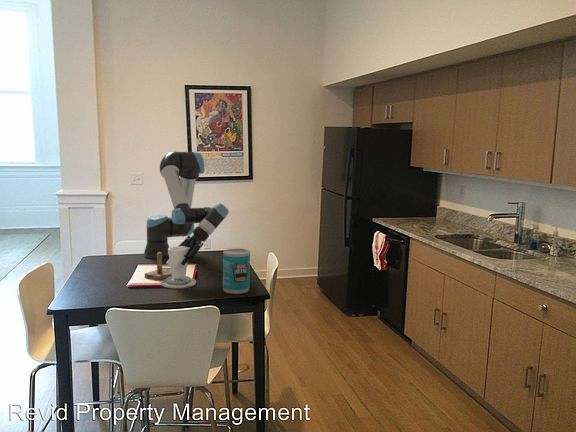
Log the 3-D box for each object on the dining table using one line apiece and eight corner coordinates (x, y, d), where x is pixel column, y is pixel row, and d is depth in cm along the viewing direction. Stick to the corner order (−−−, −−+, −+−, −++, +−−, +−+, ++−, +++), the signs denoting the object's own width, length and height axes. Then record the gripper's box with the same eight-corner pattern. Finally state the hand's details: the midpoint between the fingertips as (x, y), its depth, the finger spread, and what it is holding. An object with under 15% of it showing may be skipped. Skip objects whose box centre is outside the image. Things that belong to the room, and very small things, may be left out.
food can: (243, 295, 209) (243, 255, 206) (218, 292, 213) (218, 252, 210) (253, 288, 220) (254, 249, 218) (229, 285, 224) (230, 247, 221)
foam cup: (186, 278, 218) (186, 250, 216) (166, 277, 218) (165, 250, 216) (190, 273, 227) (190, 246, 226) (171, 272, 228) (171, 245, 226)
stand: (144, 277, 232) (144, 253, 230) (159, 273, 241) (159, 249, 239) (160, 280, 227) (159, 256, 226) (174, 276, 236) (174, 252, 234)
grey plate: (154, 283, 222) (153, 278, 222) (181, 277, 235) (181, 272, 234) (175, 291, 212) (175, 285, 212) (203, 283, 225) (203, 278, 224)
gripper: (219, 239, 221) (187, 277, 214) (198, 232, 238) (168, 266, 231) (209, 229, 217) (176, 267, 210) (188, 222, 234) (157, 257, 227)
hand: (172, 267), depth 220 cm, fingers closed on foam cup, 9 cm apart
